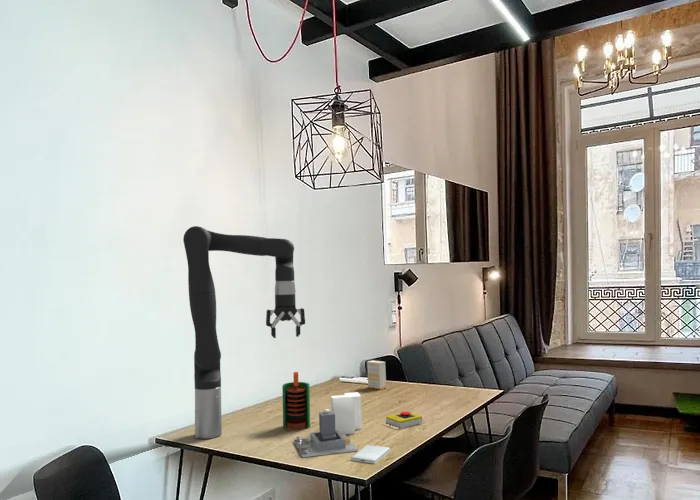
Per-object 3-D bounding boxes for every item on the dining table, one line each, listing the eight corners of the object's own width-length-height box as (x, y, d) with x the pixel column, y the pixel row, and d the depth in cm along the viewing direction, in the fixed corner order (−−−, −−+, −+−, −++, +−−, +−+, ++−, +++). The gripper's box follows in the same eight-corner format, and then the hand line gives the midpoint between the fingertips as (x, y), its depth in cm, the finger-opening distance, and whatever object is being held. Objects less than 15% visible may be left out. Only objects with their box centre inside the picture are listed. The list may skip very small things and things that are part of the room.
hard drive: (367, 444, 176) (350, 456, 165) (390, 447, 173) (375, 460, 162) (367, 449, 176) (350, 461, 165) (390, 452, 173) (375, 465, 162)
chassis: (302, 457, 168) (302, 446, 168) (293, 442, 184) (293, 432, 184) (357, 451, 173) (357, 440, 173) (344, 436, 188) (344, 427, 189)
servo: (323, 447, 175) (322, 413, 175) (319, 441, 181) (318, 408, 181) (336, 445, 176) (335, 411, 177) (332, 440, 182) (331, 407, 182)
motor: (284, 431, 196) (283, 376, 197) (281, 424, 205) (280, 371, 206) (311, 428, 199) (310, 374, 200) (307, 422, 208) (306, 369, 208)
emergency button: (426, 412, 203) (395, 419, 195) (426, 424, 203) (395, 431, 195) (410, 407, 211) (380, 413, 203) (410, 418, 211) (380, 425, 202)
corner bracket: (358, 424, 203) (357, 392, 204) (364, 433, 192) (363, 399, 193) (330, 426, 202) (329, 393, 202) (334, 435, 191) (334, 401, 191)
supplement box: (386, 388, 263) (385, 361, 264) (380, 390, 260) (379, 362, 260) (373, 386, 269) (373, 359, 269) (367, 387, 265) (366, 361, 266)
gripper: (302, 292, 204) (303, 335, 204) (264, 293, 201) (265, 337, 200) (305, 292, 197) (306, 337, 197) (267, 294, 193) (267, 339, 193)
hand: (285, 337), depth 198 cm, fingers open, 8 cm apart
